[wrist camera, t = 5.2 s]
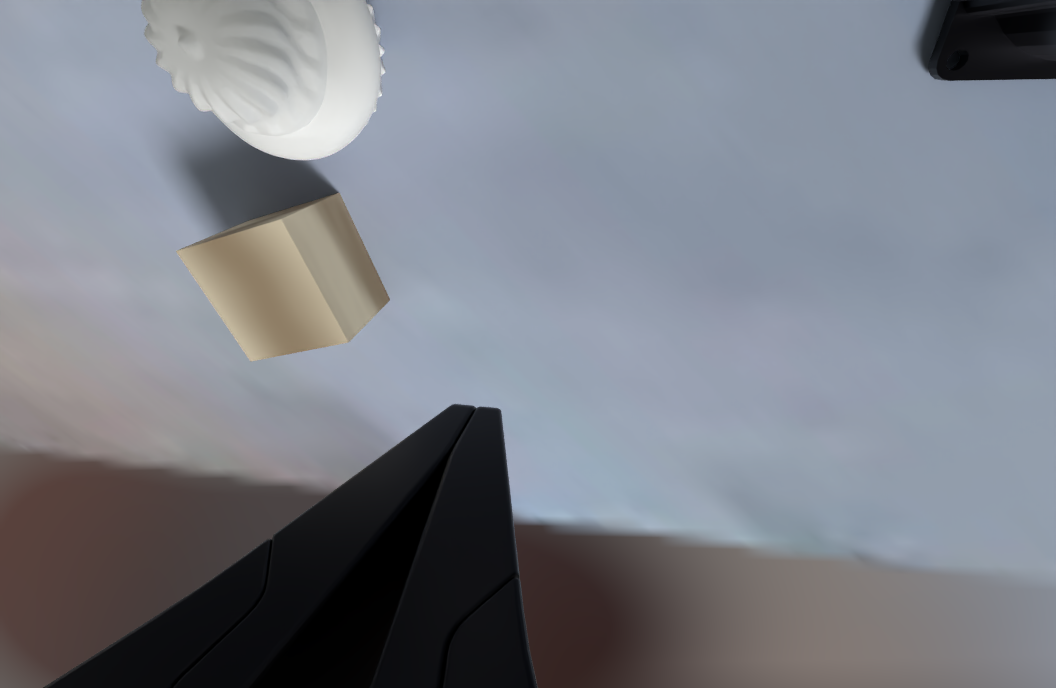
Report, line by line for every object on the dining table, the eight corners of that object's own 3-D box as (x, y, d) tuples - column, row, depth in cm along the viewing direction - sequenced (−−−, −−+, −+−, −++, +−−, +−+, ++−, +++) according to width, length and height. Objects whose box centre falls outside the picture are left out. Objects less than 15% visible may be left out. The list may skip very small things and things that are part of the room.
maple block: (341, 191, 19) (281, 219, 16) (391, 298, 21) (348, 342, 18) (248, 220, 21) (175, 251, 17) (305, 317, 23) (250, 361, 19)
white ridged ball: (440, -20, 15) (319, -75, 9) (405, 168, 18) (300, 220, 12) (256, -98, 14) (6, -208, 9) (255, 107, 18) (74, 129, 12)
